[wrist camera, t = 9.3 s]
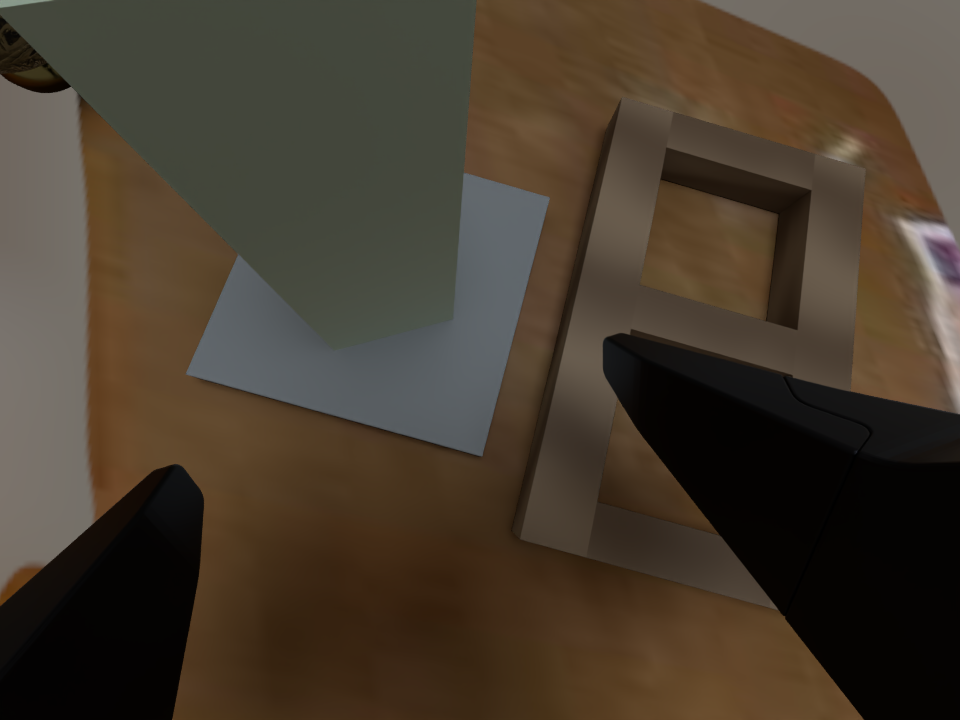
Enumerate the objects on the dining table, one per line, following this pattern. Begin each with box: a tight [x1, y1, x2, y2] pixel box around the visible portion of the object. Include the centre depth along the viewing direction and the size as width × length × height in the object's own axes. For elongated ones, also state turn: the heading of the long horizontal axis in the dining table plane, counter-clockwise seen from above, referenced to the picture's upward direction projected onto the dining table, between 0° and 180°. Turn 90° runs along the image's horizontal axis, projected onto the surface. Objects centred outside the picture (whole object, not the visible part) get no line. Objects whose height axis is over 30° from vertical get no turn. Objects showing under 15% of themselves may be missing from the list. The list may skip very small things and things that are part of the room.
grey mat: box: [186, 173, 550, 457], centre depth 19 cm, size 12×12×1 cm
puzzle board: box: [512, 97, 865, 610], centre depth 19 cm, size 20×12×2 cm, turn 165°
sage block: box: [0, 0, 476, 351], centre depth 12 cm, size 5×5×14 cm
